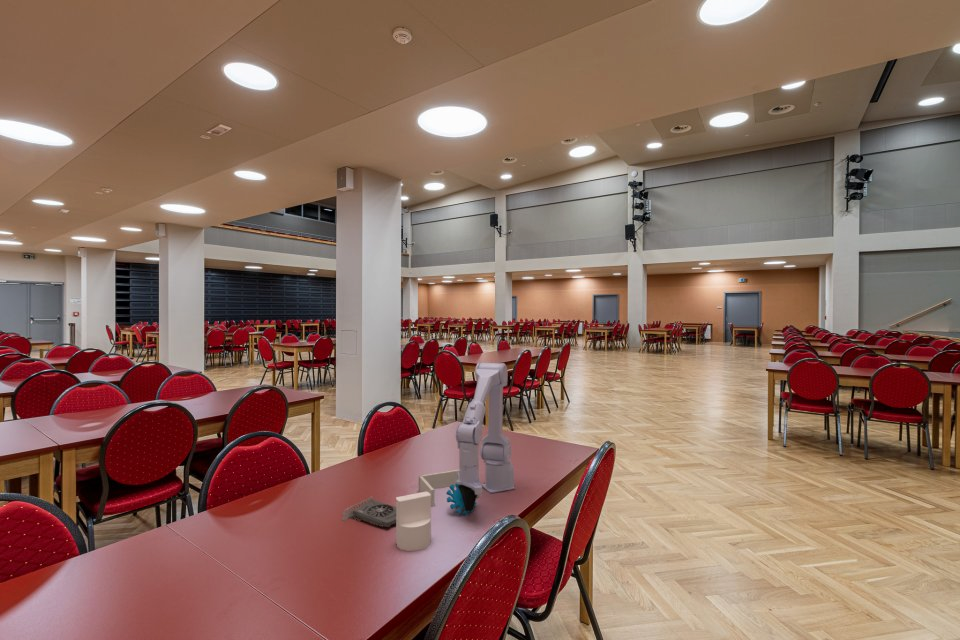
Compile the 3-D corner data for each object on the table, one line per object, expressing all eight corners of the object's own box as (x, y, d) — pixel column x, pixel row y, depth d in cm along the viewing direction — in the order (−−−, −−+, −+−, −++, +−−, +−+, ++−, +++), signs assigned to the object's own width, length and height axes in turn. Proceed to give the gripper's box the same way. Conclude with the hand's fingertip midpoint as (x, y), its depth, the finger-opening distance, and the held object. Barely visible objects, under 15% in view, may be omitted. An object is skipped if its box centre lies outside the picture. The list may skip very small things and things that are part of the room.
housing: (462, 483, 155) (462, 469, 156) (478, 497, 143) (478, 482, 143) (418, 490, 149) (418, 475, 149) (431, 506, 136) (431, 490, 136)
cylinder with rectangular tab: (402, 554, 108) (402, 506, 108) (392, 538, 116) (391, 493, 116) (436, 545, 112) (435, 499, 112) (423, 530, 120) (423, 487, 120)
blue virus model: (452, 514, 127) (444, 482, 133) (444, 523, 130) (436, 491, 137) (484, 511, 132) (475, 480, 139) (475, 519, 136) (467, 489, 142)
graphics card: (339, 509, 127) (370, 494, 137) (339, 522, 127) (370, 506, 137) (381, 525, 118) (411, 507, 128) (381, 538, 118) (411, 520, 128)
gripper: (447, 458, 134) (448, 503, 134) (465, 474, 121) (466, 522, 121) (468, 455, 137) (469, 499, 137) (488, 470, 124) (489, 518, 124)
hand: (469, 510), depth 129 cm, fingers closed
